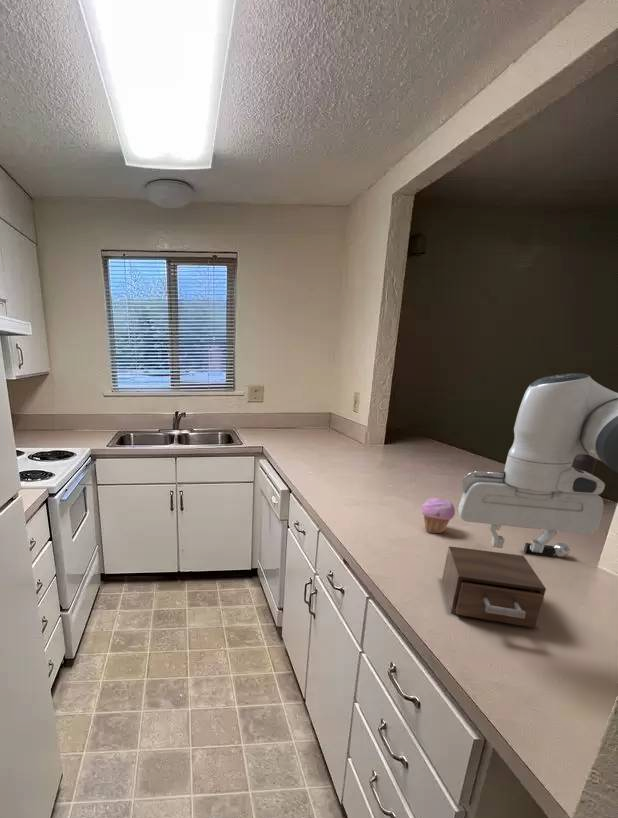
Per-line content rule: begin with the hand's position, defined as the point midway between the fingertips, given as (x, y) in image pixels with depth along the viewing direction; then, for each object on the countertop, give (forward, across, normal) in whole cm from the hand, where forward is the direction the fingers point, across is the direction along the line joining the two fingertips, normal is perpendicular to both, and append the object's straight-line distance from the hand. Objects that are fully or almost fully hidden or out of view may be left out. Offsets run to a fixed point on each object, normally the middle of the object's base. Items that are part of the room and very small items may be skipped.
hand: (515, 548), depth 78 cm
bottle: (+17, +42, +93) cm, 104 cm away
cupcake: (+17, -6, +48) cm, 52 cm away
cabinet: (+17, 0, +10) cm, 20 cm away
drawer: (+16, 0, +6) cm, 17 cm away
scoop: (+17, +19, +40) cm, 48 cm away
